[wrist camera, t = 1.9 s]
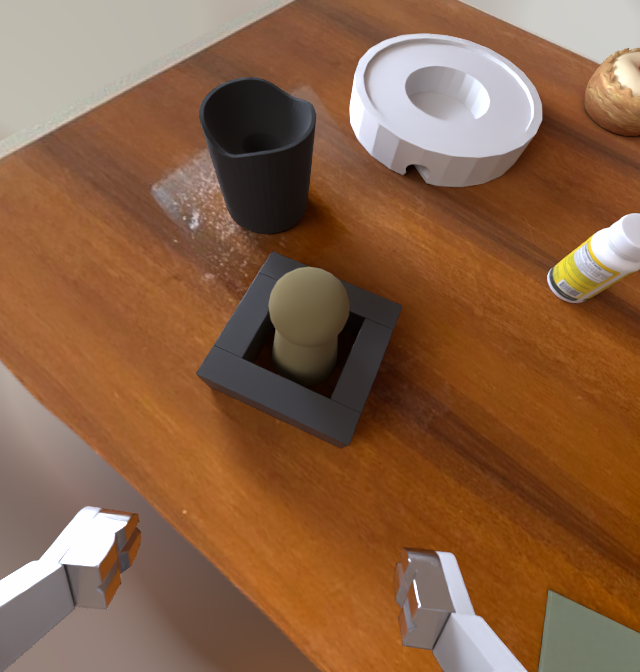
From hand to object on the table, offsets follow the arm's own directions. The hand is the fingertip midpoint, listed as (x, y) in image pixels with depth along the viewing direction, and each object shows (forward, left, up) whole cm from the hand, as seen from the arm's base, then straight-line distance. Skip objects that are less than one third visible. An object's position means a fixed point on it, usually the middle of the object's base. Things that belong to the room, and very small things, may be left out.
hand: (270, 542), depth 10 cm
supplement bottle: (+30, -18, -16) cm, 39 cm away
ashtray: (+48, +2, -16) cm, 51 cm away
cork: (+11, +4, -16) cm, 20 cm away
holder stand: (+11, +4, -16) cm, 20 cm away
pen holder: (+25, +15, -16) cm, 34 cm away
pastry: (+63, -21, -16) cm, 69 cm away
